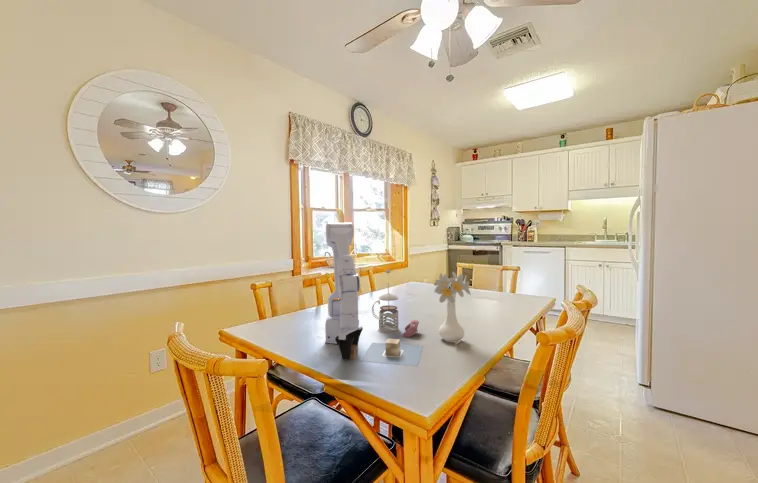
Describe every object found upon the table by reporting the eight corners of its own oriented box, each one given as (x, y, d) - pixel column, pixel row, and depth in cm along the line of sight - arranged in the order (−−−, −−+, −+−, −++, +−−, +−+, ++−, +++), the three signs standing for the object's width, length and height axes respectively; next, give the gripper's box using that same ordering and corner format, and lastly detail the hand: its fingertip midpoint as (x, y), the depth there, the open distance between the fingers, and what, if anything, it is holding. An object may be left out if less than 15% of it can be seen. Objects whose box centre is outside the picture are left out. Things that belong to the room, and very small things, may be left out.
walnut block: (342, 361, 98) (341, 348, 98) (346, 356, 102) (346, 344, 102) (354, 362, 97) (353, 349, 97) (357, 357, 101) (357, 344, 101)
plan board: (359, 363, 96) (359, 360, 96) (372, 344, 111) (372, 342, 111) (417, 368, 92) (417, 365, 92) (422, 348, 107) (422, 345, 107)
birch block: (385, 355, 100) (385, 342, 100) (388, 350, 104) (387, 338, 104) (397, 356, 99) (397, 343, 99) (399, 351, 103) (399, 339, 103)
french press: (399, 335, 121) (398, 271, 120) (370, 334, 123) (369, 271, 122) (402, 327, 130) (401, 268, 129) (375, 326, 132) (374, 268, 131)
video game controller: (412, 343, 116) (420, 327, 115) (401, 337, 117) (409, 321, 116) (414, 334, 126) (421, 319, 125) (404, 329, 127) (411, 314, 126)
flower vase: (432, 350, 105) (431, 277, 105) (435, 332, 123) (435, 270, 122) (472, 353, 102) (471, 277, 101) (470, 334, 120) (469, 270, 119)
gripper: (354, 319, 91) (355, 364, 92) (367, 307, 105) (368, 346, 106) (331, 318, 93) (332, 363, 93) (347, 306, 107) (348, 345, 107)
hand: (350, 354), depth 100 cm, fingers open, 7 cm apart
